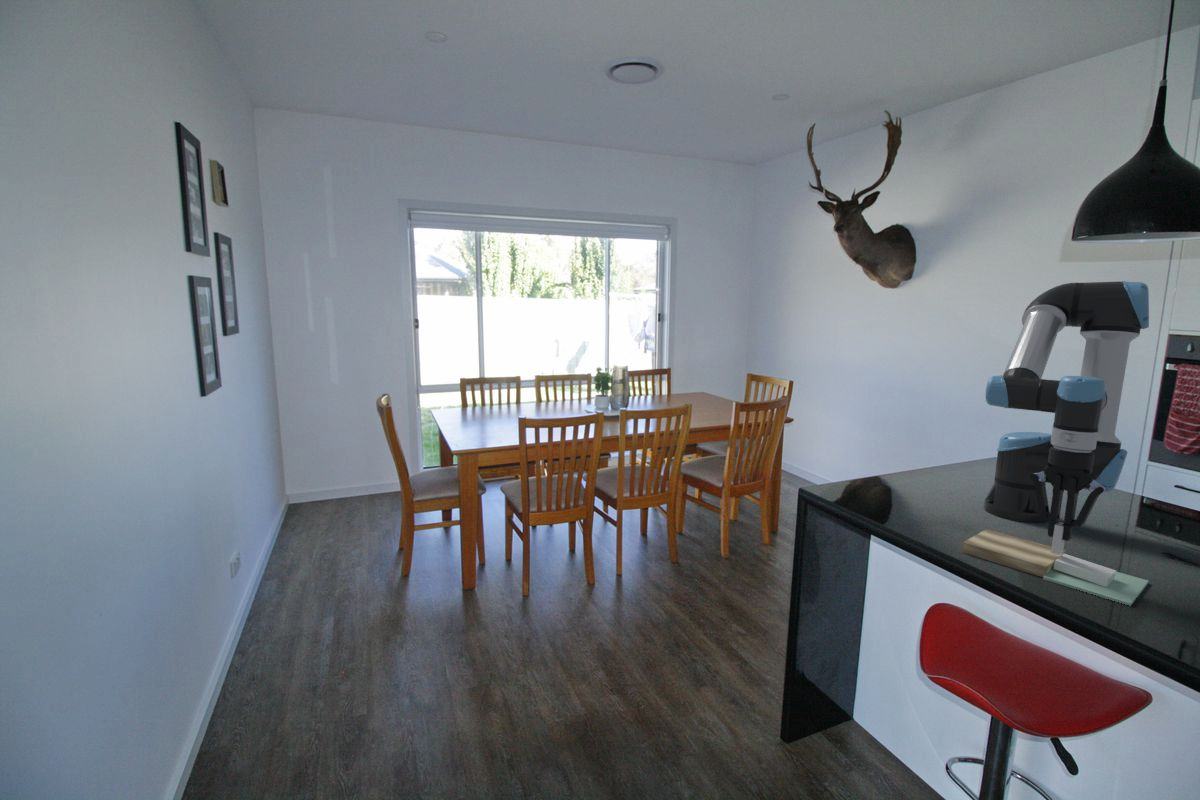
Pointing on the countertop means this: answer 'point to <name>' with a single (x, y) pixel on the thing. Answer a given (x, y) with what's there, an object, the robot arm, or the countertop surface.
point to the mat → (1118, 590)
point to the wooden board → (1012, 552)
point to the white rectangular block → (1085, 570)
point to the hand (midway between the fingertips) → (1056, 552)
